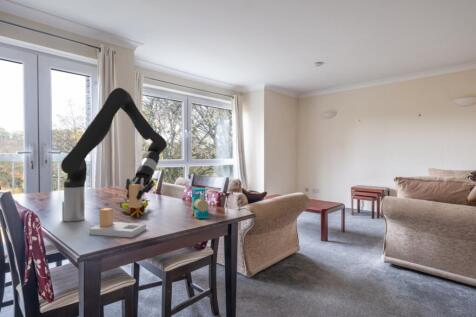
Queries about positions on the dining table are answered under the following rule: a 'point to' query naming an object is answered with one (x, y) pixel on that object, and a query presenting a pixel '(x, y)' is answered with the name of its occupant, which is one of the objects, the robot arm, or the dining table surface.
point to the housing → (118, 229)
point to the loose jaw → (134, 196)
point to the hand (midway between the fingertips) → (132, 198)
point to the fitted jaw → (106, 217)
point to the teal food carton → (199, 204)
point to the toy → (135, 211)
